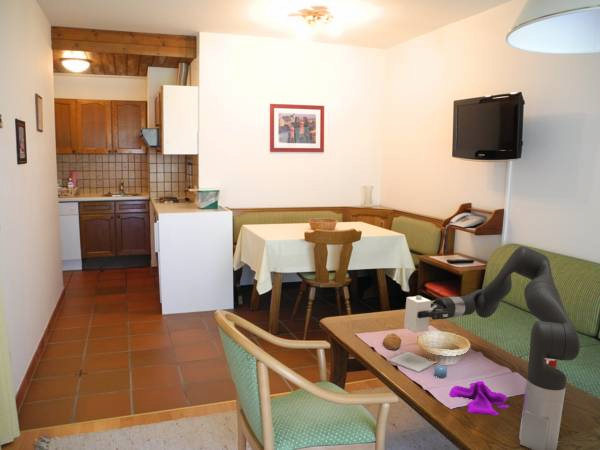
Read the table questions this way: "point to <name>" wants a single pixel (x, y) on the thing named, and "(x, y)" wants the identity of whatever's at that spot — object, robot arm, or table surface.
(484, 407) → the cloth
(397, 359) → the mat
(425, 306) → the white square bottle
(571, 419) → the table surface
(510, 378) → the table surface
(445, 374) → the blue rounded block
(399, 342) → the pastry
